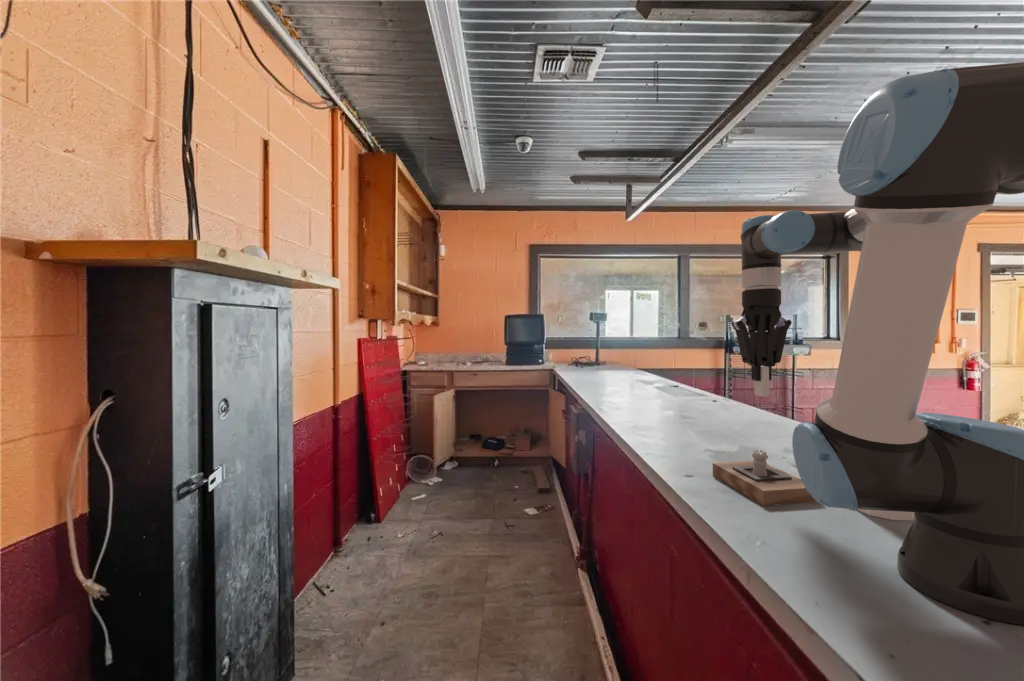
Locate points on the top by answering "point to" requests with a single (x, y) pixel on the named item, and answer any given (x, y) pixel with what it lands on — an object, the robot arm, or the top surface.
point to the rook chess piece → (759, 463)
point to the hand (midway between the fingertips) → (761, 395)
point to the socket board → (763, 483)
